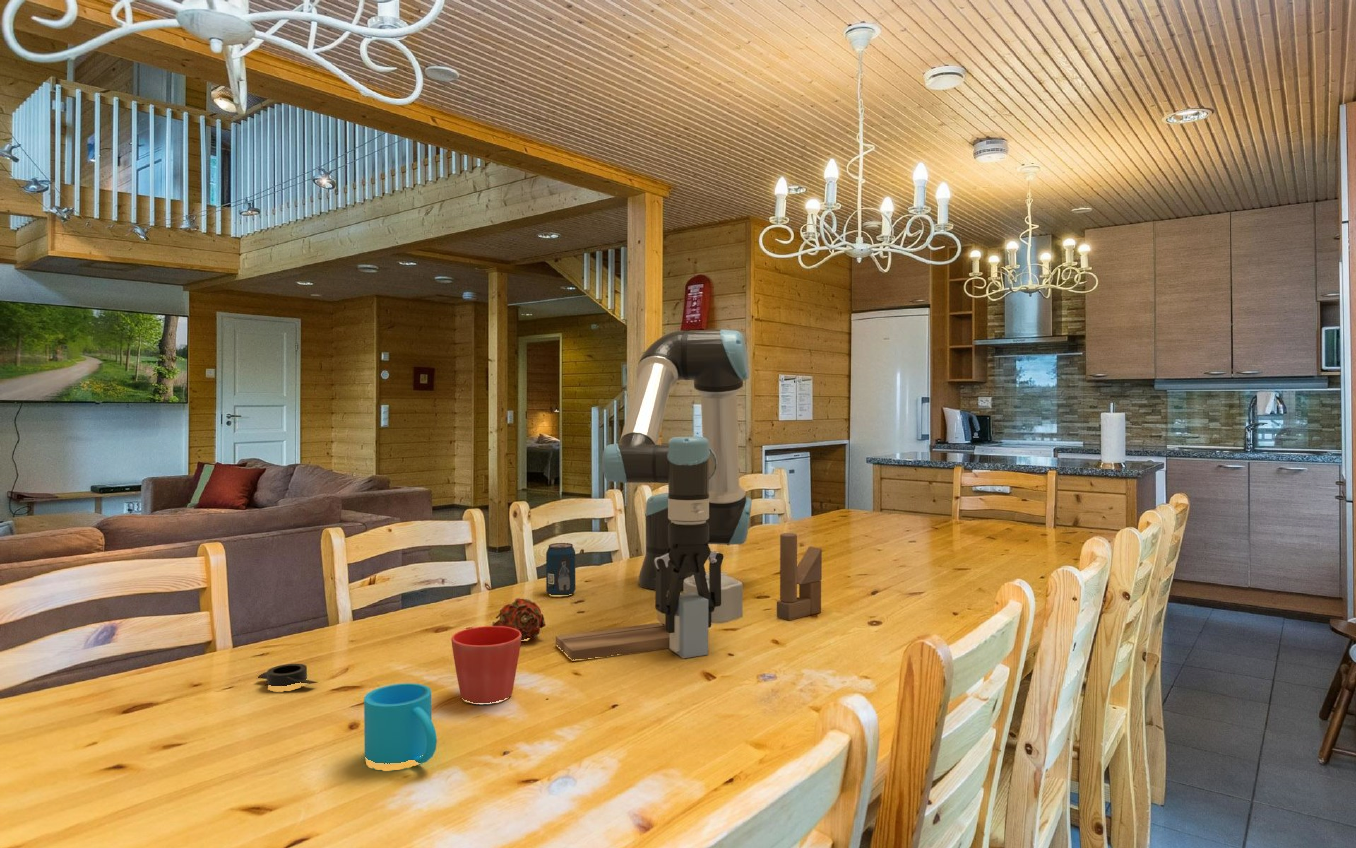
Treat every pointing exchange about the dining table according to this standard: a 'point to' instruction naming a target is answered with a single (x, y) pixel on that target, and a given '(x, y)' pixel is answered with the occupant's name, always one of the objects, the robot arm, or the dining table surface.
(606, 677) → the dining table surface
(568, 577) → the soda can
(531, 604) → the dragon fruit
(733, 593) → the paw mold
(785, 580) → the wooden block
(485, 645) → the flower pot
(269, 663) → the dining table surface
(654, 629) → the board
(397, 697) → the mug
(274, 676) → the black winged ring
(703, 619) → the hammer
